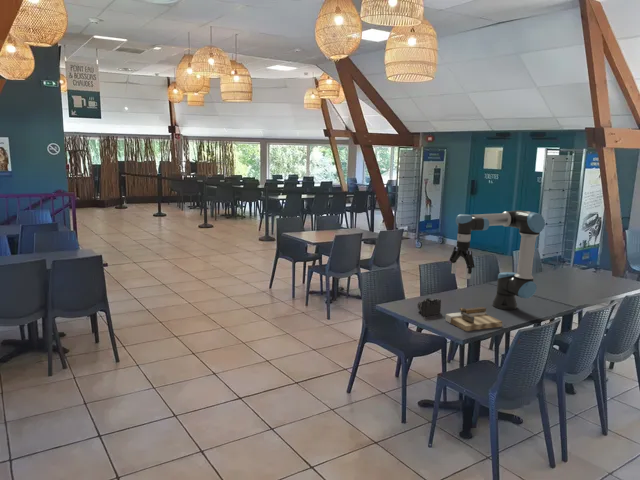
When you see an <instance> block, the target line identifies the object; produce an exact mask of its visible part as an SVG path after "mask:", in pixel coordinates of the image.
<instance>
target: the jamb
mask: <svg viewBox="0 0 640 480" xmlns="http://www.w3.org/2000/svg"><path fill="white" fill-rule="evenodd" d="M463 313H464V311H460V312H452V313H451V312H450V313H446V314H445V321H446V322H448V323H449V324H451V318H458V317H462V315H463ZM468 314H469V315H471V316H475V315H484V314H487V311H486V312H477V313H468Z"/></svg>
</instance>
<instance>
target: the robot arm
mask: <svg viewBox="0 0 640 480" xmlns="http://www.w3.org/2000/svg"><path fill="white" fill-rule="evenodd" d="M455 224H456V225H457V236H456V237H457V238H456V240H457V241H456V246H453V251H452V253H451V255H450V258H449V261H450V262H451V274H456V273H457V261H458V260H459V258H460V257H462V258H463V259H464V261H465V264H466V266H467V267H466V273H465V280H471V276H472V272H473V271H472V270H473V269H474V268H475V267H476V266H475V261H474V258H473V251H472V250H469V249H470V247H471V236H472V232H473V231H481V232H482V231H487V230H488V229H489V227H492V226H503V227H506V228H507V227H508V228H509V227H511V228H515V229H519V230H518V233H519V234H520V236H521V238H520V245H519V251H518V252H519V253H518V261H517V262H518V263H517V268H516V272H513V271H511V272H509V271H505V272H504V271H503V272H499V273H498V275H497V281H496V282H497V284H496V294H495V297H494V300H492V307H494V308H496V309H500V310H507V311H513V310H516V309H517V307H518V304H517V299H516V297H518V298H521V299H522V298H523V299H526V300H527V299H530V298H532V297H533V296H534V295H535V294H536V292H537V288H538V287H537V283H536V282H534V276H533V275H532V274H533V273H532V271H533V266H534V265H533V264H534V256H535V251H536V250H535V249H536V241H537V237H539V236H540V233H541V232H543V229H545V224H546V221H545V219H544V216H543V215H542V214H541V213H537V212H534V211H528V210H527V211H526V210H520V209H519V210H509V211H503V212H502V213H483V214H481V213H480V214H463V213H460V214H458V215H457V216H455Z"/></svg>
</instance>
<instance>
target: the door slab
mask: <svg viewBox="0 0 640 480" xmlns="http://www.w3.org/2000/svg"><path fill="white" fill-rule="evenodd" d="M473 317H474V323H469V322H467V321H465V320H463V319H462V317H458V318H451V323H450V324H452V325H453V326H456V327H458V328H459V329H461V330H463V331H465V332H470V331H477V330H478V331H479V330H484V329H492V328H500V327H503V320H500V319H498V318H496V317H493V316H491V315H489V314H487V313H486V314H484V315H475V316H473Z"/></svg>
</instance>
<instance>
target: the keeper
mask: <svg viewBox="0 0 640 480" xmlns="http://www.w3.org/2000/svg"><path fill="white" fill-rule="evenodd" d="M462 319H463V320H465V321H467V322H469V323H474V317H473V316H471V315H469V314H467V313H463V315H462Z"/></svg>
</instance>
